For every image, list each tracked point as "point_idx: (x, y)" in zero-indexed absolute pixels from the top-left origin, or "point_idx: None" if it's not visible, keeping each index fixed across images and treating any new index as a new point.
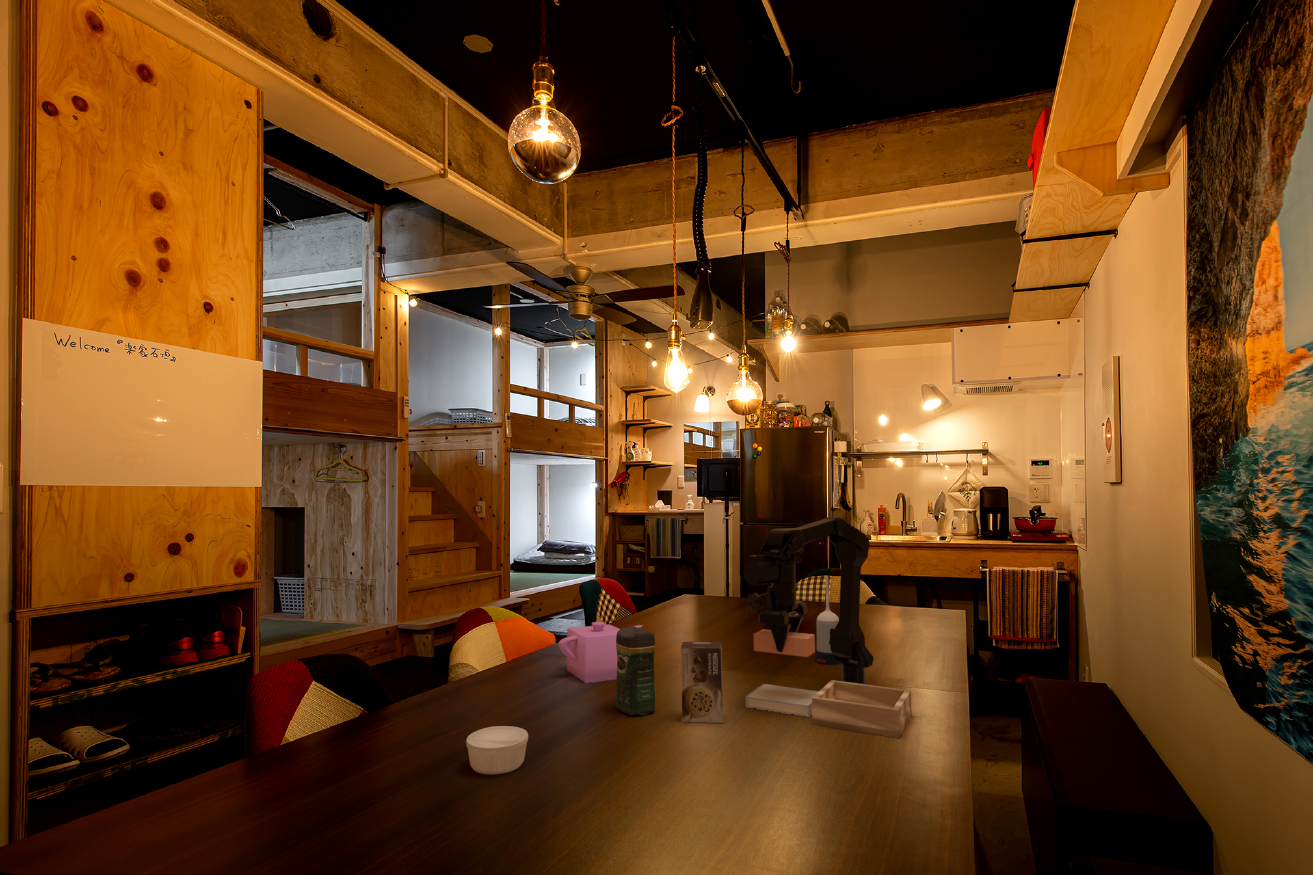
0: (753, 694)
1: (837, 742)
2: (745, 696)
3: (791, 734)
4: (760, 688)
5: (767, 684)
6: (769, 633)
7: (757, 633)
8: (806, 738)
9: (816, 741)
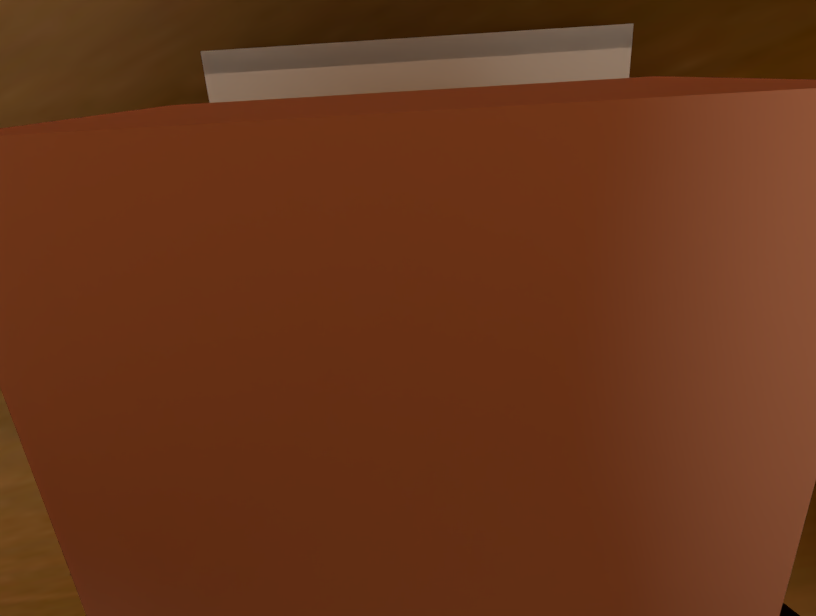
0: (285, 90)
1: (65, 612)
2: (202, 52)
3: (3, 453)
4: (479, 67)
5: (627, 69)
6: (302, 536)
7: (47, 249)
8: (11, 515)
9: (11, 554)
